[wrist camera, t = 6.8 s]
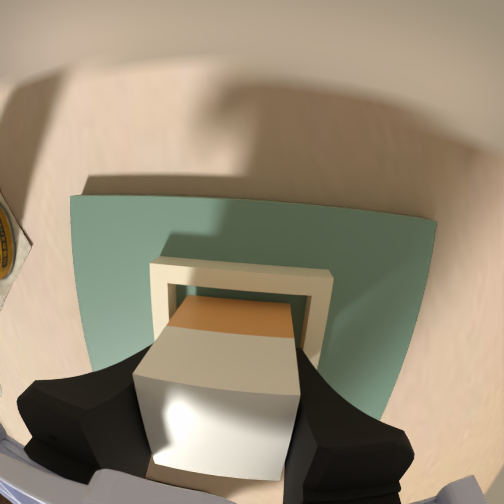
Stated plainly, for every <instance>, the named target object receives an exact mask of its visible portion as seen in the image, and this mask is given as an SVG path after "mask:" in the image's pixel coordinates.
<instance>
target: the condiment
mask: <svg viewBox="0 0 504 504" xmlns="http://www.w3.org/2000/svg"><path fill="white" fill-rule="evenodd" d="M30 249H31V245H30V243H29V242H28V241H27V239H26V237H25V235H24V234H23V232H22V230H21V229H20V227H19V224H18V223H17V221H16V219H15V217H14V216H13V214H12V212H11V210H10V208H9V207H8V205H7V204H6V202H5V200H4V198H3V196H2V194H1V192H0V309H1V307H2V305H3V302H4V300H5V298H6V296H7V293H8V292H9V290H10V288H11V286H12V284H13V282H14V280H15V278H16V276H17V274H18V272H19V270H20V268H21V267H22V265H23V263H24V260H25V259H26V257H27V255H28V254H29V251H30Z"/></svg>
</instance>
